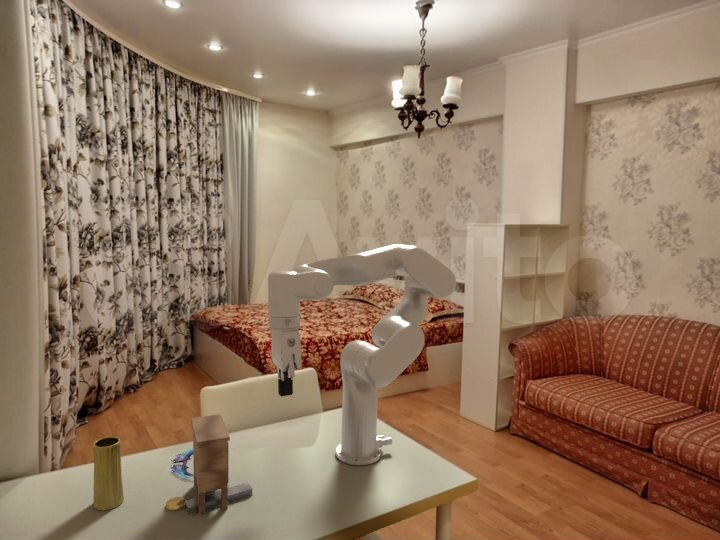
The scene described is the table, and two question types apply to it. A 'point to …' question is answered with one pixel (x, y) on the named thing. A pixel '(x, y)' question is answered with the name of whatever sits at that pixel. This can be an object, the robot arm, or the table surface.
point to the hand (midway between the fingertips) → (285, 394)
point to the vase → (107, 474)
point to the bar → (219, 498)
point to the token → (175, 504)
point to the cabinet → (210, 458)
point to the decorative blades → (182, 466)
